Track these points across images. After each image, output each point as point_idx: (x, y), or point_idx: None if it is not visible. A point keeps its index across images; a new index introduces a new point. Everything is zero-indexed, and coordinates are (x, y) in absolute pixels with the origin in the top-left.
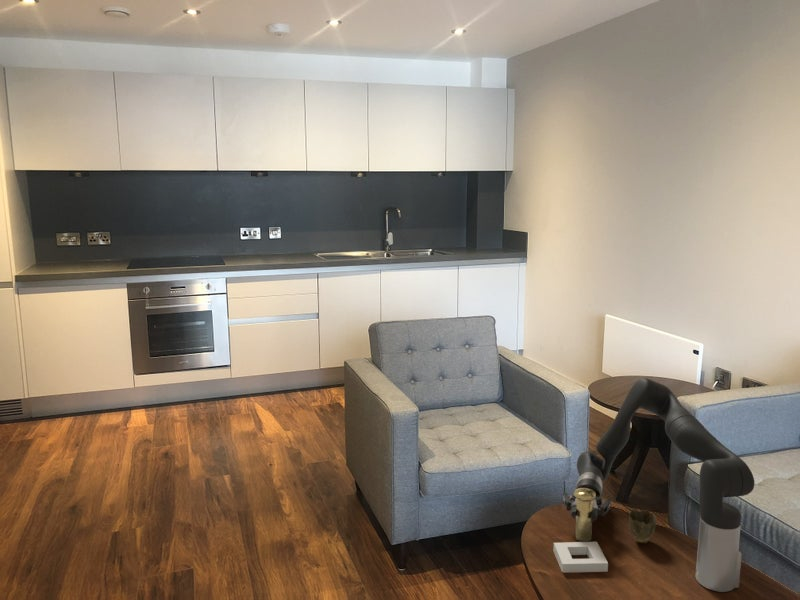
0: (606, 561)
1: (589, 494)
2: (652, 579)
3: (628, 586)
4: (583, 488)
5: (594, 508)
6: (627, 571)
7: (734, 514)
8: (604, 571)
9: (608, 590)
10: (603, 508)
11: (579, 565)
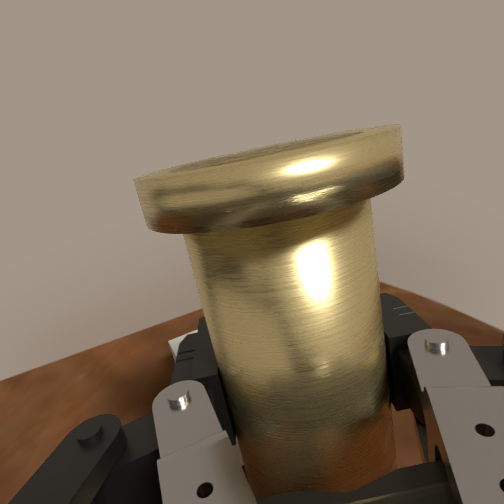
0: (173, 343)
1: (209, 161)
2: (23, 407)
3: (122, 351)
4: (318, 147)
5: (196, 385)
6: (102, 403)
7: None
8: None
9: (181, 321)
10: (86, 421)
11: None
